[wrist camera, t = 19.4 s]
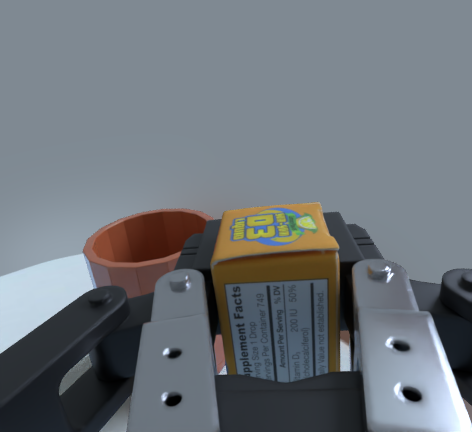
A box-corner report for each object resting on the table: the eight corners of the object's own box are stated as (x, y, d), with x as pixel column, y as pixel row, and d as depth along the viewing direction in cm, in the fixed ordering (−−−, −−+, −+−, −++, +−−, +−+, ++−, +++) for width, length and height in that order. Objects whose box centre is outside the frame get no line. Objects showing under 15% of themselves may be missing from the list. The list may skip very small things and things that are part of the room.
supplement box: (241, 424, 15) (222, 202, 11) (324, 424, 15) (332, 197, 11) (237, 514, 12) (207, 252, 8) (341, 517, 12) (360, 248, 8)
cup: (251, 333, 25) (240, 217, 22) (181, 419, 20) (150, 281, 16) (172, 304, 30) (152, 202, 26) (95, 368, 24) (55, 249, 20)
